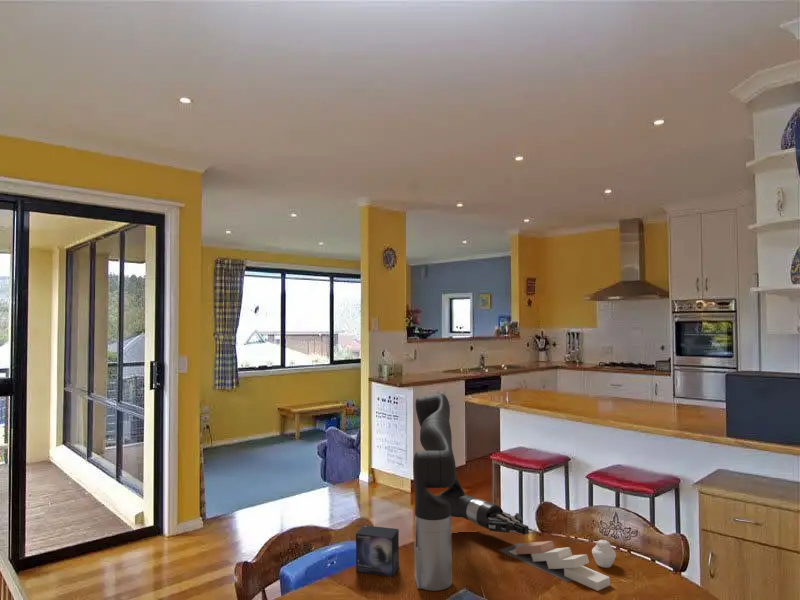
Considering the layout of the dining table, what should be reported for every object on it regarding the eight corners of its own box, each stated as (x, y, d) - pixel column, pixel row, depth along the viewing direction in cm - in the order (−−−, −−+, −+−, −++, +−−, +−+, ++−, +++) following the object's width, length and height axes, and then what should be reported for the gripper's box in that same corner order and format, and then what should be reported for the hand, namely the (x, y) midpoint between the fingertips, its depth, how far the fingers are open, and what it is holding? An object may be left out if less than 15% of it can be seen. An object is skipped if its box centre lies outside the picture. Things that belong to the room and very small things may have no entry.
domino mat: (498, 551, 160) (498, 549, 160) (520, 544, 165) (520, 542, 165) (567, 583, 140) (567, 581, 140) (590, 574, 145) (590, 572, 145)
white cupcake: (595, 559, 154) (595, 533, 154) (618, 564, 150) (618, 538, 151) (589, 567, 149) (588, 541, 149) (613, 573, 145) (612, 546, 145)
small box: (354, 573, 147) (354, 533, 148) (363, 562, 153) (363, 524, 154) (392, 577, 144) (392, 537, 145) (399, 567, 150) (399, 528, 151)
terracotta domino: (515, 546, 157) (540, 545, 150) (527, 542, 160) (552, 540, 152) (516, 554, 157) (542, 553, 149) (529, 550, 159) (554, 548, 152)
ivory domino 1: (531, 553, 152) (557, 551, 145) (543, 549, 155) (569, 547, 148) (533, 561, 152) (559, 559, 144) (545, 557, 155) (572, 555, 147)
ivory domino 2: (546, 561, 148) (573, 559, 140) (558, 556, 151) (586, 554, 143) (548, 569, 147) (576, 567, 139) (561, 564, 150) (589, 562, 142)
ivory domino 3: (564, 568, 143) (597, 582, 135) (576, 563, 146) (609, 577, 138) (564, 575, 143) (597, 590, 135) (576, 570, 146) (610, 585, 138)
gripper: (468, 505, 167) (510, 522, 153) (499, 497, 175) (542, 512, 161) (468, 531, 167) (510, 549, 153) (500, 521, 175) (543, 538, 161)
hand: (526, 530), depth 157 cm, fingers closed
